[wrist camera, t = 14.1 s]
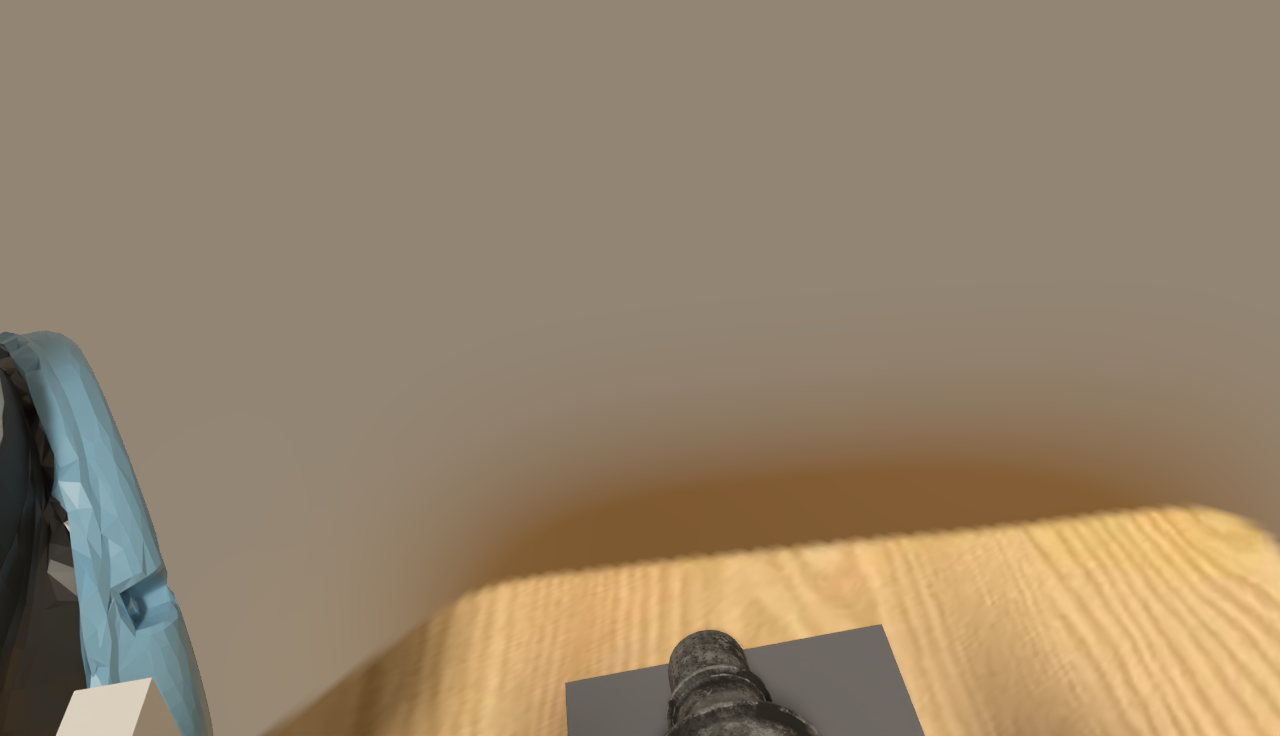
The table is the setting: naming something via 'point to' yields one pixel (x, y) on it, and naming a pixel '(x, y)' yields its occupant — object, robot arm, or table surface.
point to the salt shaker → (723, 693)
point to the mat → (796, 679)
